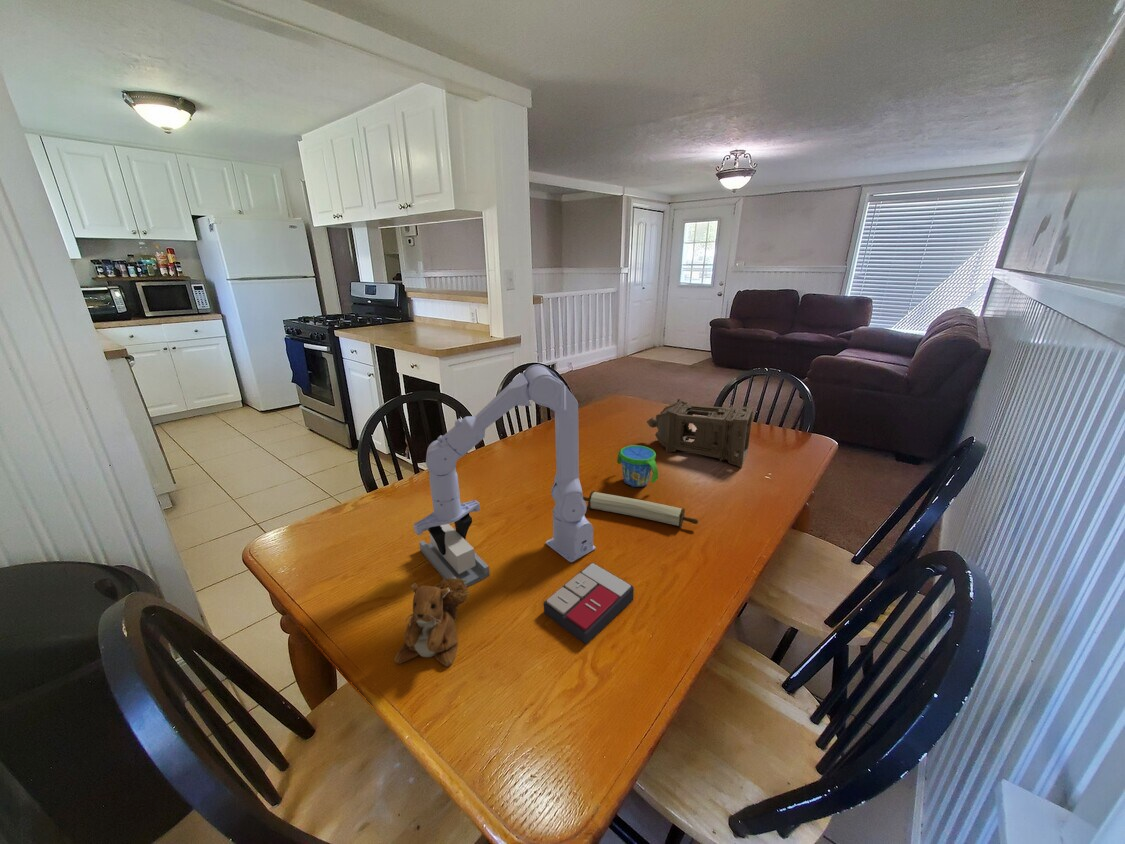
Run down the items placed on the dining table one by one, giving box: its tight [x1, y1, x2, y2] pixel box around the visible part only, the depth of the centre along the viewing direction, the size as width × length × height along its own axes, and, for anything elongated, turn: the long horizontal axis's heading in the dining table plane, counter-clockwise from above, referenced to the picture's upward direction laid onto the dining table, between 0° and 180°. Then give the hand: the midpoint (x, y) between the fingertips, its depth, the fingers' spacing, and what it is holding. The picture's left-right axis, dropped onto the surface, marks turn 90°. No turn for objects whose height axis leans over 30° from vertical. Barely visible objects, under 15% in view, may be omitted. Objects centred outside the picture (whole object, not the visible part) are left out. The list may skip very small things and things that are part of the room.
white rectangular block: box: [428, 524, 476, 574], centre depth 95 cm, size 14×4×4 cm, turn 40°
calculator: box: [542, 562, 635, 645], centre depth 84 cm, size 11×4×15 cm
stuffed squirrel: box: [393, 578, 470, 668], centre depth 75 cm, size 10×14×13 cm
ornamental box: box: [646, 398, 754, 469], centre depth 151 cm, size 35×18×18 cm, turn 60°
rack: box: [418, 539, 490, 588], centre depth 96 cm, size 18×8×2 cm, turn 40°
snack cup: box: [616, 444, 659, 488], centre depth 130 cm, size 16×10×10 cm
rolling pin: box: [582, 490, 699, 529], centre depth 113 cm, size 32×6×5 cm, turn 67°
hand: (451, 548), depth 96 cm, fingers closed on white rectangular block, 4 cm apart
